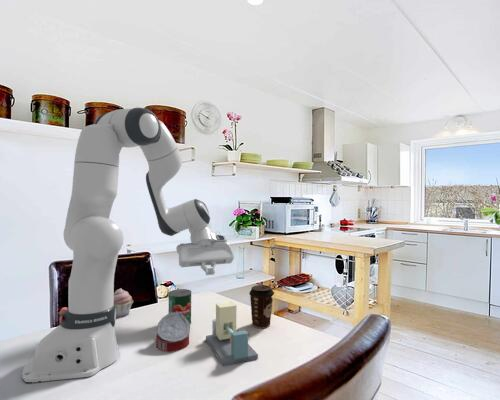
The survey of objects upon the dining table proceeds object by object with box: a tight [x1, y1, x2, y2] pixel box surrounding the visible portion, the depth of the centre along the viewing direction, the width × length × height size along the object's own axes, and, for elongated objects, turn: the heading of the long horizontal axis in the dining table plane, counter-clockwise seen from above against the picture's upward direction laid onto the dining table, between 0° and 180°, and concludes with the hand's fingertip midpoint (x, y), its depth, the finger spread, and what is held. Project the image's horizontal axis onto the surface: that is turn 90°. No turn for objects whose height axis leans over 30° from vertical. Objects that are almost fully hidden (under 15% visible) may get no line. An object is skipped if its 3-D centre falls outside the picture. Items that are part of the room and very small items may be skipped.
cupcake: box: [114, 287, 134, 318], centre depth 121 cm, size 9×9×10 cm
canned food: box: [155, 312, 191, 353], centre depth 97 cm, size 11×10×10 cm
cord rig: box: [205, 318, 259, 367], centre depth 94 cm, size 10×17×8 cm, turn 23°
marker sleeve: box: [215, 301, 237, 340], centre depth 98 cm, size 5×4×10 cm
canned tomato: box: [168, 288, 192, 326], centre depth 113 cm, size 8×8×11 cm
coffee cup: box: [248, 284, 275, 329], centre depth 112 cm, size 9×8×13 cm
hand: (210, 274), depth 113 cm, fingers closed
